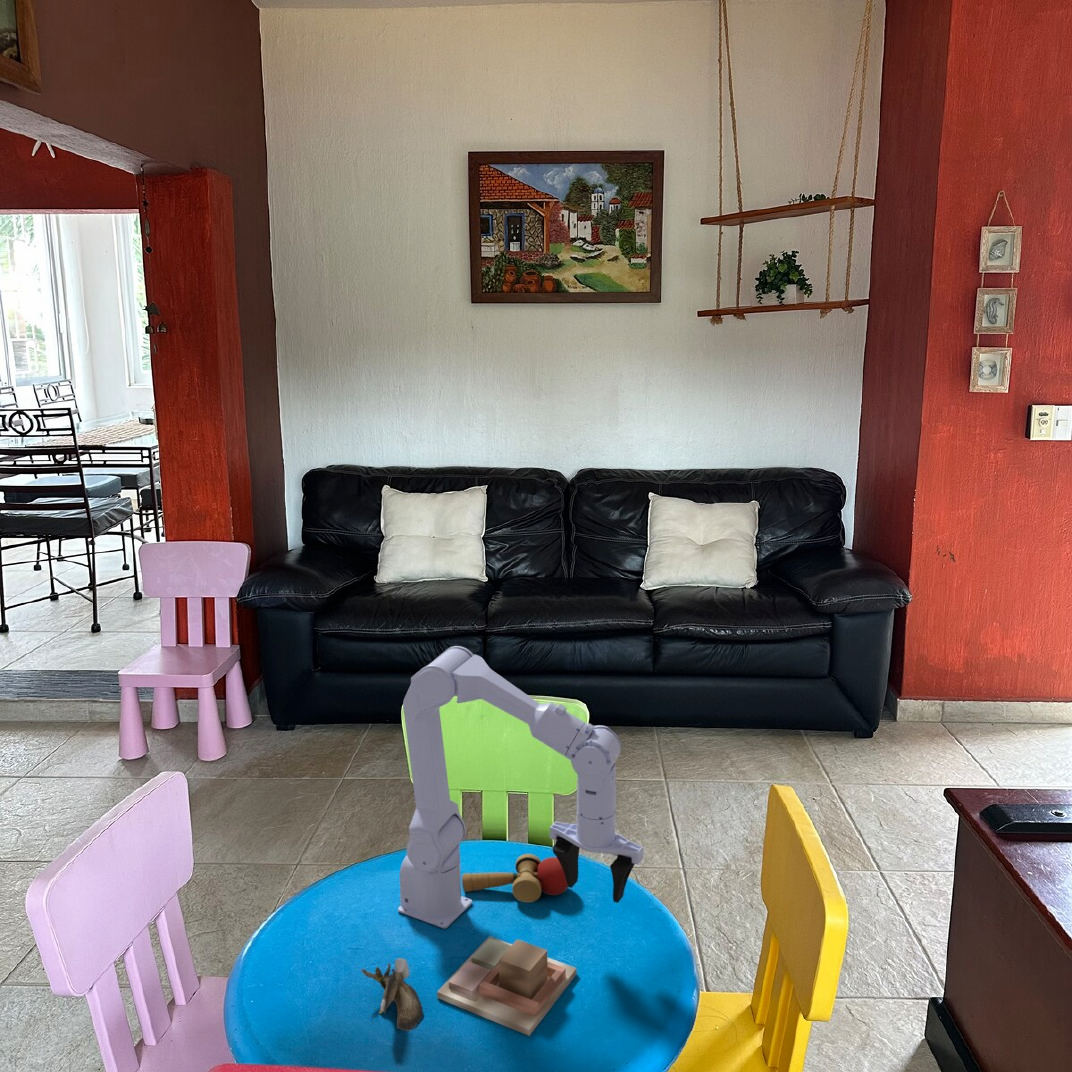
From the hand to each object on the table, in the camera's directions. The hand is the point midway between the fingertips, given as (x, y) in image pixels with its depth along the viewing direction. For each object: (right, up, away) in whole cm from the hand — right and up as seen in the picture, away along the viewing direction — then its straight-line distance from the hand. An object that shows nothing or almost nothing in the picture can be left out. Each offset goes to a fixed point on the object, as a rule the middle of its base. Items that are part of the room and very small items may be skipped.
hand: (595, 891), depth 146 cm
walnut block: (-11, -11, -8) cm, 17 cm away
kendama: (-12, -6, +16) cm, 21 cm away
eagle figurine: (-29, -13, -11) cm, 33 cm away
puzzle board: (-13, -11, -6) cm, 18 cm away
